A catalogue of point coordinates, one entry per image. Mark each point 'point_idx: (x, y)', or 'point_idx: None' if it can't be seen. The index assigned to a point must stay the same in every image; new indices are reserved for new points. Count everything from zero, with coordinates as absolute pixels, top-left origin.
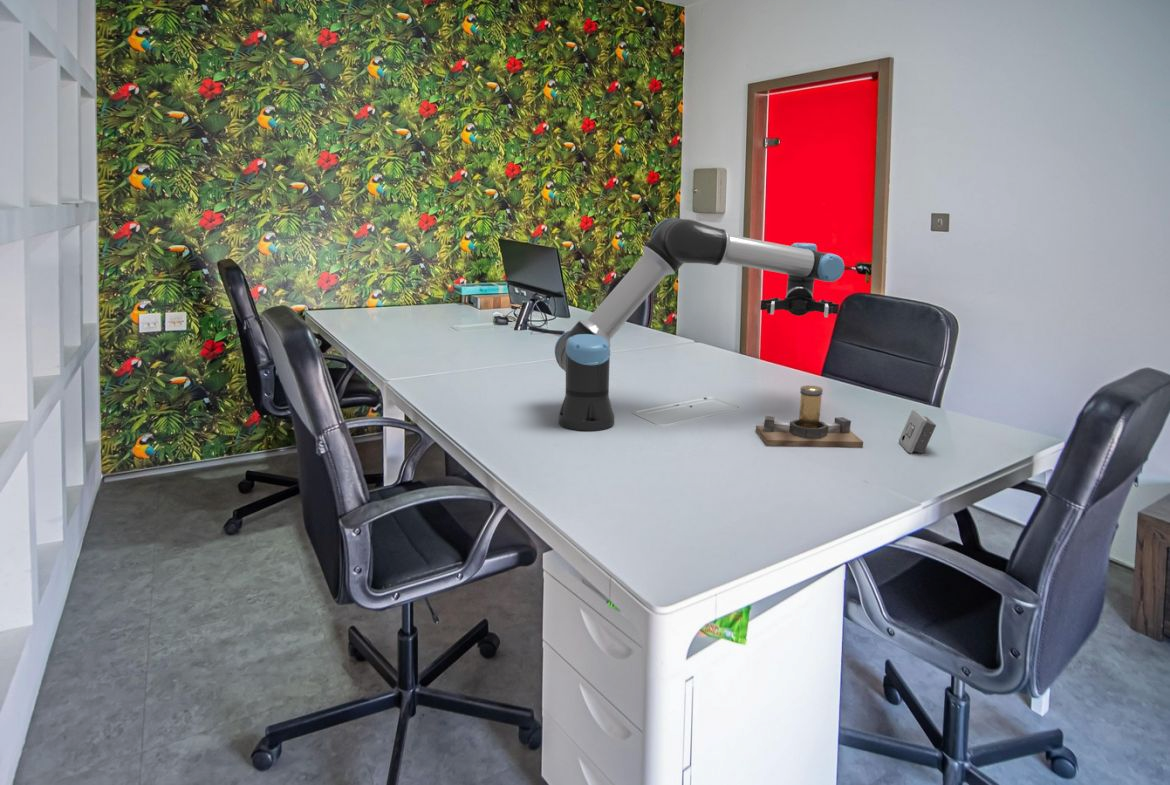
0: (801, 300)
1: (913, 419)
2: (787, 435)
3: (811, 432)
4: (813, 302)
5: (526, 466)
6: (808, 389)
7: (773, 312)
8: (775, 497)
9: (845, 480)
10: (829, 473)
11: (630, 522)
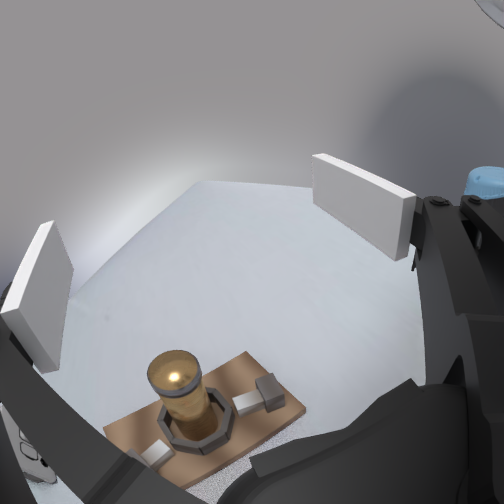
0: (357, 502)
1: (13, 440)
2: (227, 390)
3: None
4: (114, 447)
5: None
6: (175, 352)
7: (323, 202)
8: (182, 253)
9: (126, 310)
10: (143, 318)
11: (252, 198)
